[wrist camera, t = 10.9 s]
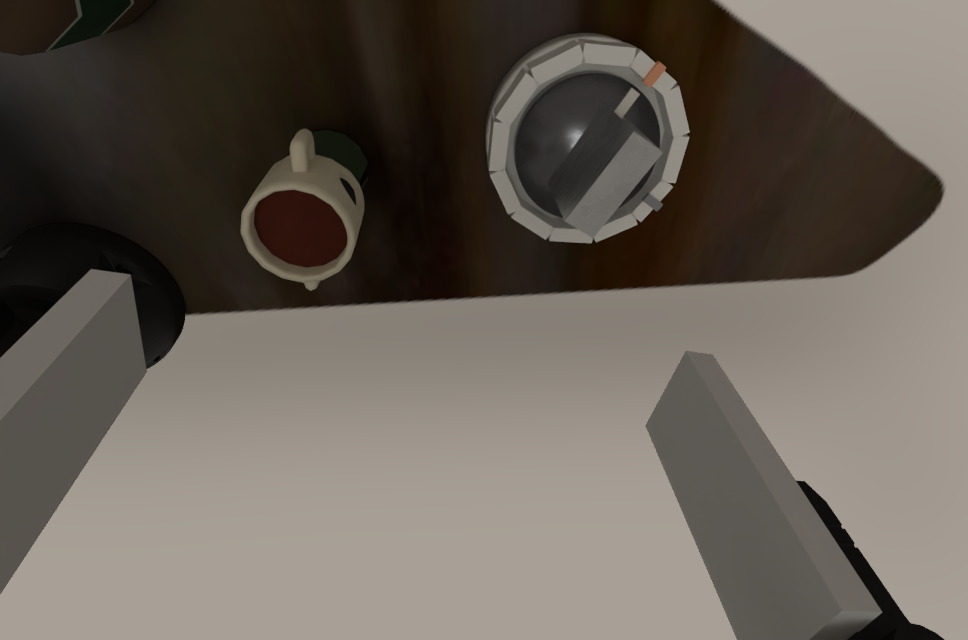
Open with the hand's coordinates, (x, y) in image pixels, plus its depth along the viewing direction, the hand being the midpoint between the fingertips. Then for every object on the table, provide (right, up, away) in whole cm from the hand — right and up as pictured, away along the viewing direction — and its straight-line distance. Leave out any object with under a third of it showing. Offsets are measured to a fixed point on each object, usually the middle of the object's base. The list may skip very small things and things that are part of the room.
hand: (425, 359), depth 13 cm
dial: (+9, +15, +29) cm, 34 cm away
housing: (+9, +16, +32) cm, 37 cm away
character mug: (-11, +14, +32) cm, 37 cm away
